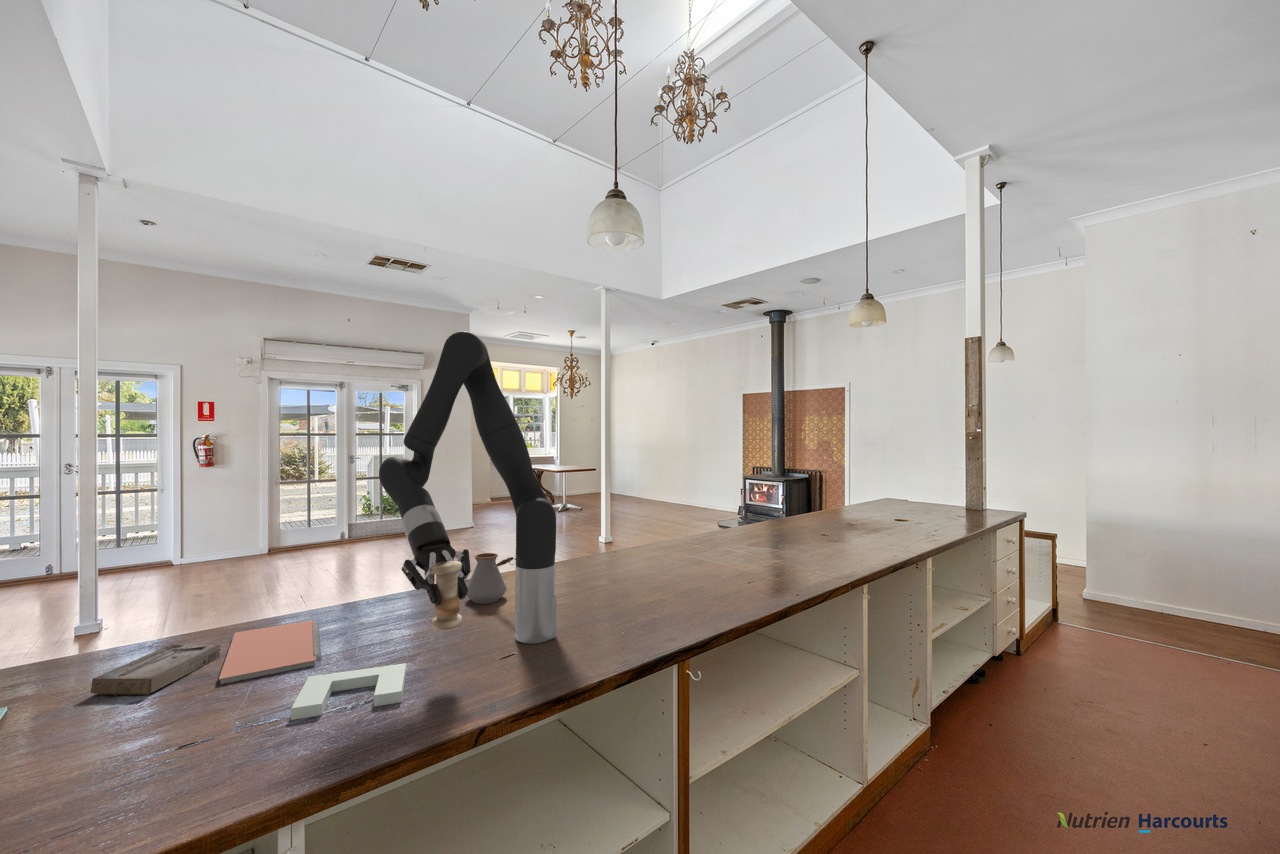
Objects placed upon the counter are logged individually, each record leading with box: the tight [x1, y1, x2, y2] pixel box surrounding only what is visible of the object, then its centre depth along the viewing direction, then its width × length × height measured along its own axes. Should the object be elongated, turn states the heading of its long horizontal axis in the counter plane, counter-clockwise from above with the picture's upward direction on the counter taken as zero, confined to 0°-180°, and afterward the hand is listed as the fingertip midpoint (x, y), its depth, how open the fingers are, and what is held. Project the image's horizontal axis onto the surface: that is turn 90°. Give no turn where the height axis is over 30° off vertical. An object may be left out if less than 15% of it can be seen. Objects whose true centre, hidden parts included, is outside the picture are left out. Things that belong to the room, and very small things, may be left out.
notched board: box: [290, 662, 407, 721], centre depth 96 cm, size 17×12×2 cm
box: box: [90, 643, 221, 697], centre depth 103 cm, size 11×17×3 cm, turn 3°
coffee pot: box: [466, 552, 516, 605], centre depth 147 cm, size 21×12×15 cm, turn 43°
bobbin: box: [431, 560, 463, 631], centre depth 104 cm, size 6×6×12 cm
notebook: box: [218, 619, 322, 685], centre depth 115 cm, size 27×17×2 cm, turn 33°
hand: (451, 599), depth 102 cm, fingers closed on bobbin, 4 cm apart
